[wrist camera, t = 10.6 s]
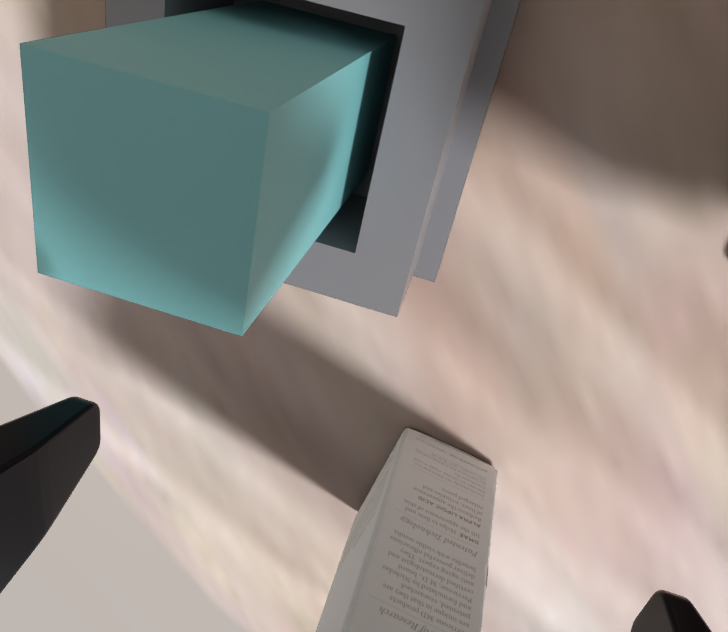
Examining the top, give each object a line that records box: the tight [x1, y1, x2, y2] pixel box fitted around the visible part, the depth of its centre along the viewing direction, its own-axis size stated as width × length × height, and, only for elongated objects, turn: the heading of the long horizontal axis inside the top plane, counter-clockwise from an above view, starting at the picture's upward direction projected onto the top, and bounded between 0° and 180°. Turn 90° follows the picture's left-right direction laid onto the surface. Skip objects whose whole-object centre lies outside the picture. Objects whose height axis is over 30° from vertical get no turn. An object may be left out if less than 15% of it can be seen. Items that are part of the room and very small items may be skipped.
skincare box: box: [316, 428, 498, 632], centre depth 22 cm, size 6×4×12 cm
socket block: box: [105, 0, 520, 317], centre depth 18 cm, size 10×10×5 cm
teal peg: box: [20, 0, 397, 336], centre depth 15 cm, size 4×4×10 cm
